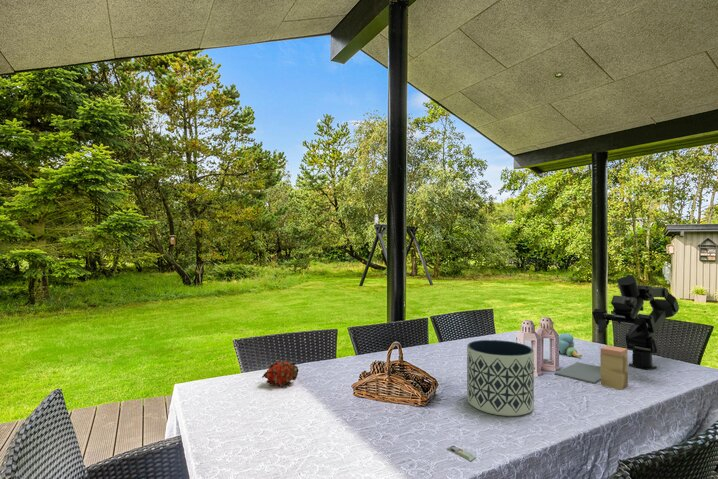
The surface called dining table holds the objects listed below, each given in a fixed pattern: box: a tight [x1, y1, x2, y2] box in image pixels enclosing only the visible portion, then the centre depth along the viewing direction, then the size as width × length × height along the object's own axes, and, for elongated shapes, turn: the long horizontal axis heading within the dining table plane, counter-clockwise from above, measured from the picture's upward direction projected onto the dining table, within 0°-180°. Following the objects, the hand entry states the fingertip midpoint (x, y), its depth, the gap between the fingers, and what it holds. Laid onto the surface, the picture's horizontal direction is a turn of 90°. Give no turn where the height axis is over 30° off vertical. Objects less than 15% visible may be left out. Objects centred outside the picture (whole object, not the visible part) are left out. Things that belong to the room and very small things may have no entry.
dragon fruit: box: [261, 359, 300, 388], centre depth 132 cm, size 8×8×12 cm
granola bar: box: [446, 445, 477, 462], centre depth 88 cm, size 7×2×1 cm, turn 38°
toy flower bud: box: [558, 332, 583, 358], centre depth 167 cm, size 7×9×12 cm
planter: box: [466, 339, 535, 417], centre depth 116 cm, size 18×18×16 cm
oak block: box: [599, 345, 629, 391], centre depth 132 cm, size 6×6×12 cm
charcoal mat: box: [554, 361, 601, 385], centre depth 144 cm, size 20×13×1 cm, turn 130°
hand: (613, 334), depth 138 cm, fingers open, 9 cm apart
